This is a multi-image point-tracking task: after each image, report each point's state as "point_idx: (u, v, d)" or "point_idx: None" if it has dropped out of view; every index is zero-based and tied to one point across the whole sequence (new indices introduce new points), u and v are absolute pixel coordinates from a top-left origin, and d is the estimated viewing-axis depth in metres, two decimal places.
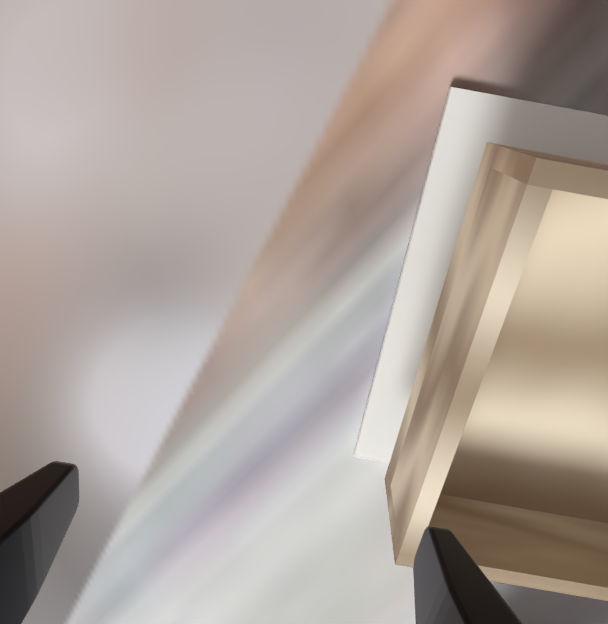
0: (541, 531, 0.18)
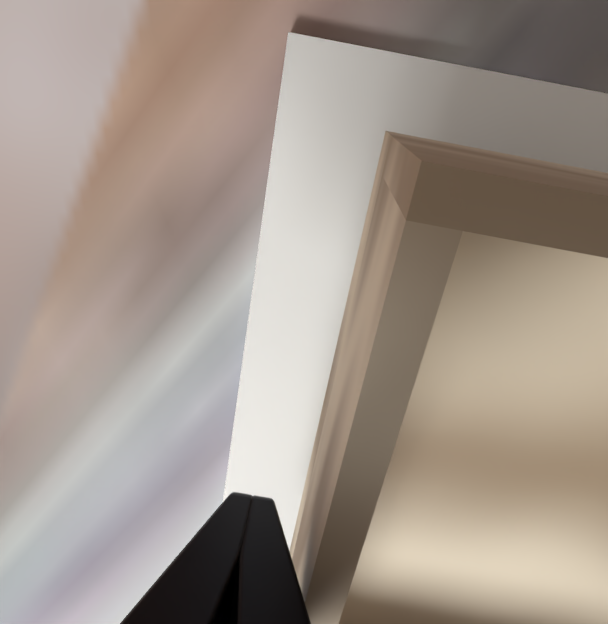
0: None
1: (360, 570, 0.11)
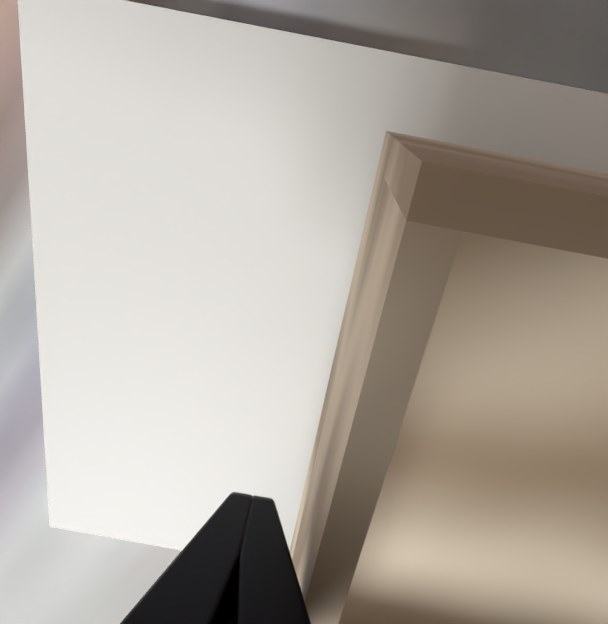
0: None
1: (360, 570, 0.11)
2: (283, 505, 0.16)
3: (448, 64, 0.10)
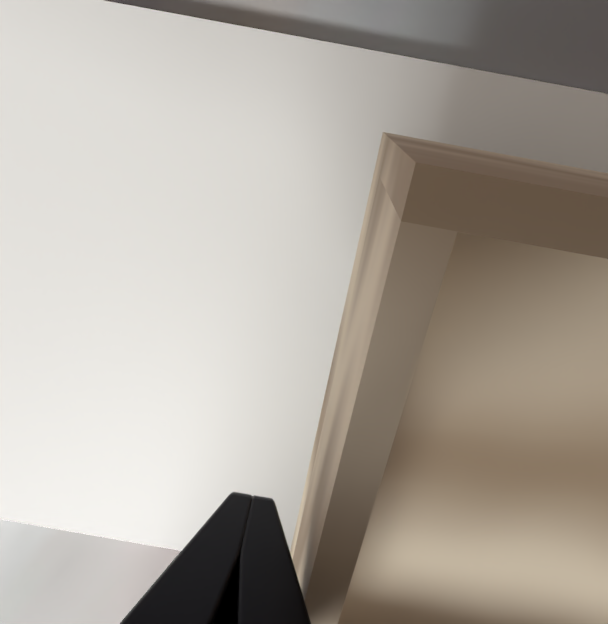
0: None
1: (361, 570, 0.12)
2: (176, 486, 0.16)
3: (281, 34, 0.10)
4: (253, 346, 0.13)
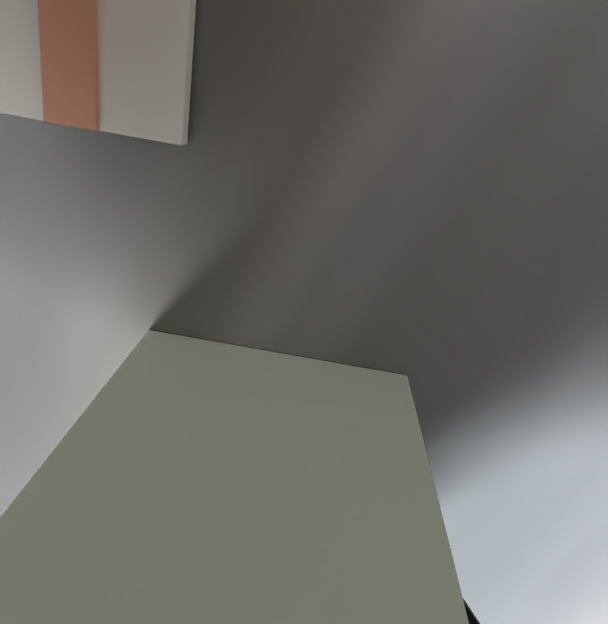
0: None
1: None
2: None
3: None
4: None
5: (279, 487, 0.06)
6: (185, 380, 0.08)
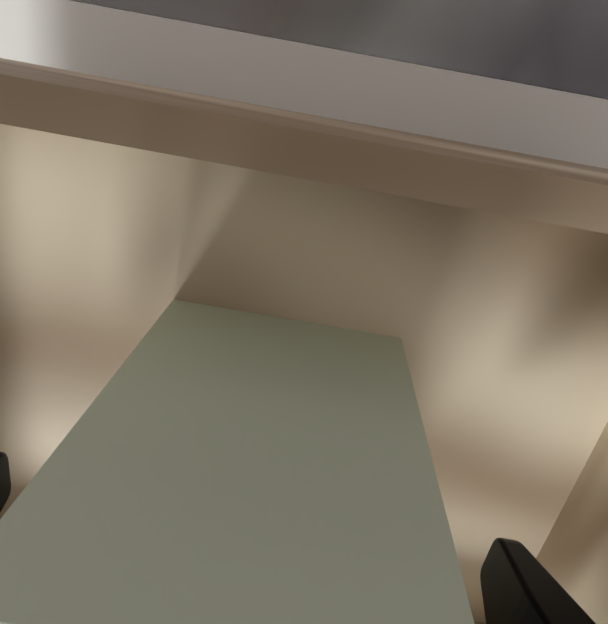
0: None
1: (15, 459, 0.13)
2: None
3: None
4: None
5: (292, 416, 0.08)
6: (208, 338, 0.09)
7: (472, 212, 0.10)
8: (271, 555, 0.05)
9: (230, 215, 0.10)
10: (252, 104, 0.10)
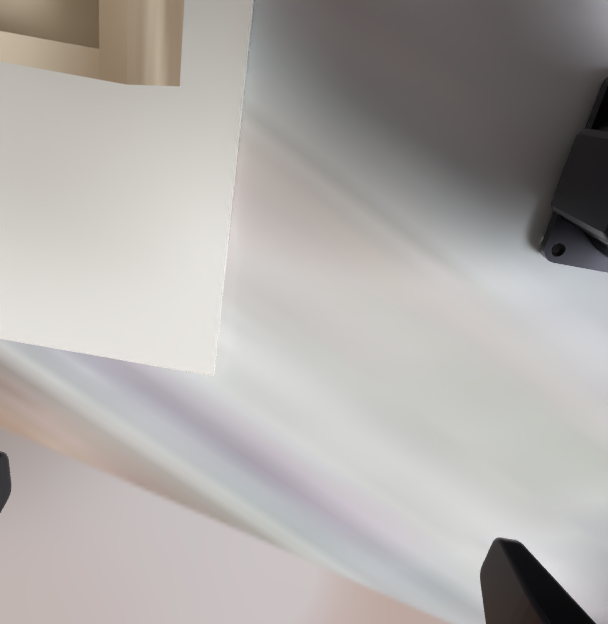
0: None
1: None
2: (156, 190, 0.18)
3: None
4: (4, 111, 0.18)
5: None
6: None
7: None
8: None
9: None
10: None
